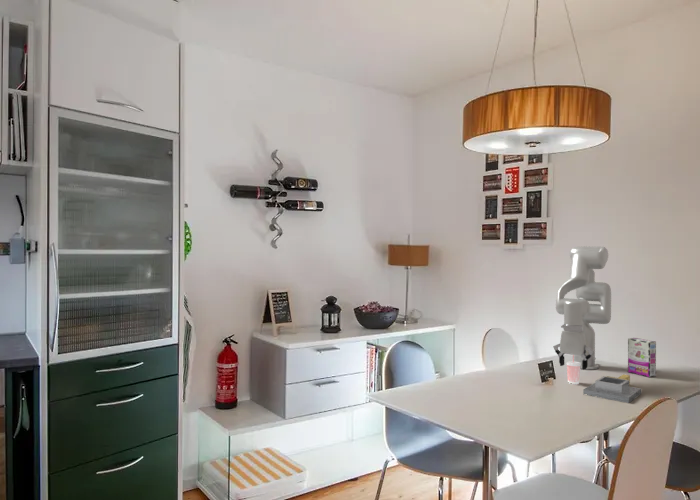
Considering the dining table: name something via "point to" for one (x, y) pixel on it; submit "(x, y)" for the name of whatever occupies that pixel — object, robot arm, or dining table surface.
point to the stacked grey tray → (613, 389)
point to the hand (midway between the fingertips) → (573, 367)
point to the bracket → (623, 377)
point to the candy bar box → (642, 357)
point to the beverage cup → (573, 371)
